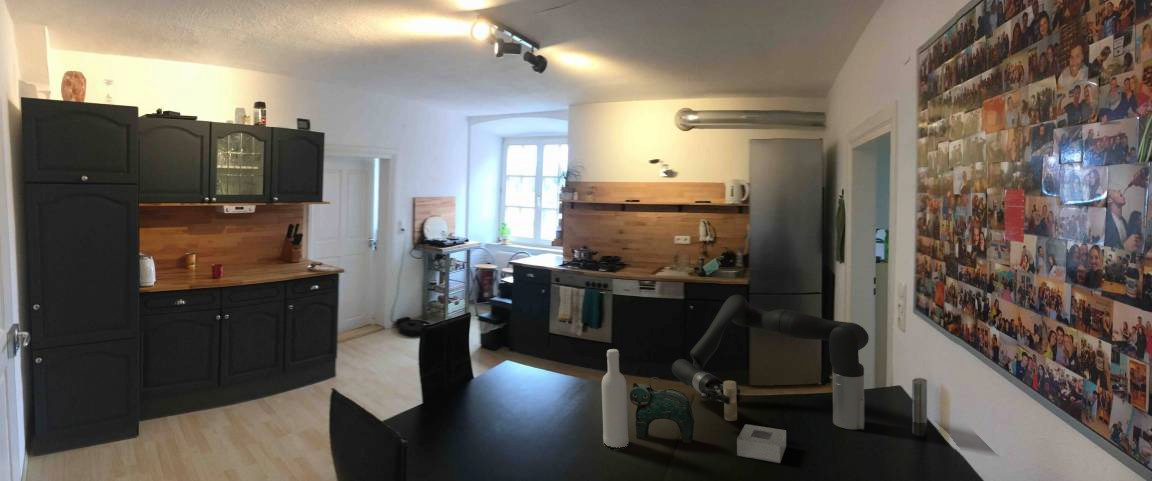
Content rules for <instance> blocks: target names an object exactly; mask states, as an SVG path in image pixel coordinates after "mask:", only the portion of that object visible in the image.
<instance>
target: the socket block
mask: <svg viewBox="0 0 1152 481" xmlns="http://www.w3.org/2000/svg"><path fill="white" fill-rule="evenodd" d="M786 448H787V429H786V430H785V429H779V428H773V427H765V426H758V425H753V424H744V426H743V427H742V429H741V431H740V432H739V434H738V436H737V438H736V453H737V454H736V455H737V456H738V457H743V458H749V459H754V460H759V461H766V462H771V463H775V464H776V463H777V464H781V463H782V462H781V461H782V459H783V456H784V453H785V451H786Z"/></svg>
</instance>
